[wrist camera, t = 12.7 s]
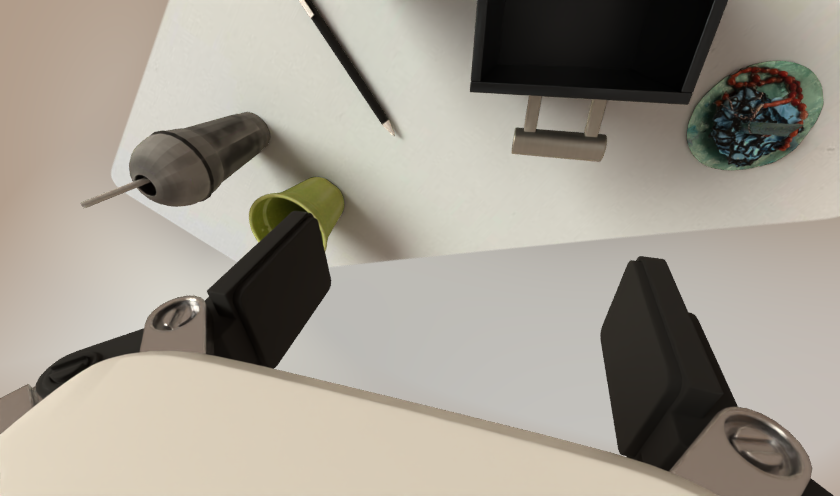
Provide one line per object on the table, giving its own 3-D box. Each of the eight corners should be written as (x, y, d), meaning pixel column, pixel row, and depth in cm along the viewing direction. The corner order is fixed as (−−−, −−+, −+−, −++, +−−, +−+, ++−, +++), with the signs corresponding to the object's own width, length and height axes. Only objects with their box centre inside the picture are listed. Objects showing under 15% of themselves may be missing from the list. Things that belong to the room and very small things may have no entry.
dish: (672, 138, 31) (798, 131, 25) (699, 63, 31) (829, 38, 25) (696, 181, 36) (806, 184, 30) (719, 115, 36) (832, 105, 30)
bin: (506, -75, 28) (488, -137, 17) (681, -82, 25) (789, -160, 15) (485, 120, 35) (464, 161, 25) (618, 130, 33) (659, 181, 22)
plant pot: (278, 167, 46) (233, 198, 40) (343, 159, 43) (306, 191, 36) (306, 229, 51) (270, 266, 45) (365, 226, 48) (337, 265, 41)
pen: (277, -53, 32) (270, -55, 32) (399, 132, 39) (395, 135, 39) (271, -46, 33) (264, -47, 32) (392, 136, 40) (389, 140, 39)
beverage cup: (280, 167, 46) (147, 260, 31) (228, 148, 47) (71, 230, 31) (280, 111, 42) (125, 187, 26) (223, 91, 42) (36, 153, 27)
